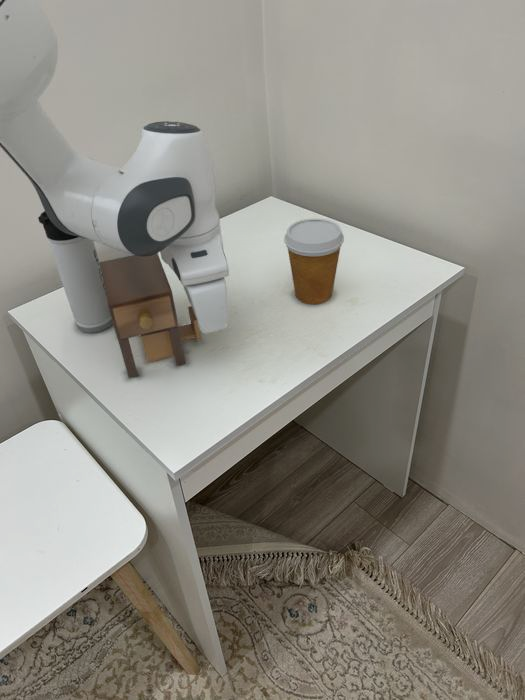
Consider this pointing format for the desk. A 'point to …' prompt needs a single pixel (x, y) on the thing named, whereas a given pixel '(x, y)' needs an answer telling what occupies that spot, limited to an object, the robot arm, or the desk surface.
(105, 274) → the drawer unit
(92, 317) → the travel mug
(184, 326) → the wooden drawer
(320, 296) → the disposable coffee cup
